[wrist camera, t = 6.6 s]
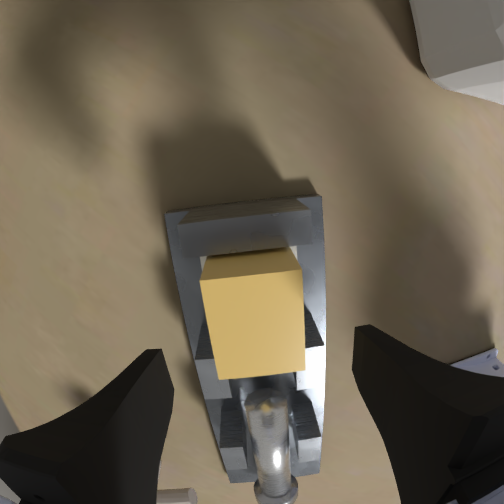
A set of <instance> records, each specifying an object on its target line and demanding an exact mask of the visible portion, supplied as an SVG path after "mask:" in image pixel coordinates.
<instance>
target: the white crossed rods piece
mask: <svg viewBox="0 0 504 504" xmlns="http://www.w3.org/2000/svg"><path fill="white" fill-rule="evenodd" d="M161 463H162V462H161V460H160V465H159V473H160V468H161ZM158 478H159V474H158ZM197 502H198V500H197V494H196V492H195V490H194V489H193V488H184V489H168V490H157V500H156V504H197Z"/></svg>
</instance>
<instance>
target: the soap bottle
mask: <svg viewBox="0 0 504 504" xmlns="http://www.w3.org/2000/svg"><path fill="white" fill-rule="evenodd" d="M409 2H410V6H411V10H412V15H413V20H414V24H415V30H416V35H417V40H418V46H419V52H420V59H421V63H422V65H423V66H424V68H425V70H426V72H427V74H428V77H429V78H430V79H431V80H432V81H434V82H435V83H436V84H438V85H439V86H440V87H442V88H443V89H446V90H451V91H455V92H459V93H463V94H467V95H471V96H475V97H479V98H482V99H486V100H489V101H493V102H496V103H499V104H502V105H504V0H409Z"/></svg>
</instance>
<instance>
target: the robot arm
mask: <svg viewBox="0 0 504 504" xmlns="http://www.w3.org/2000/svg"><path fill="white" fill-rule="evenodd" d="M497 353H498V350H497V349H496V348H494V349H491V350H489V351H486V352H484V353H481V354H478V355H476V356H473V357H470V358H468V359H465V360H462V361H459V362H457V363H454V364H451V365H448V364H445V363H443V362H440V361H437V360H435V359H433V358H430V357H428V356H426V355H424V354H422V353H420V352H418V351H416V350H414V349H412V348H410V347H408V346H407V345H405V344H403V343H401V342H400V341H398V340H396V339H394V338H393V337H391V336H389V335H388V334H386V333H384V332H383V331H381V330H379V329H378V328H376V327H374V326H372V325H370V324H369V325H363V326H358V327H355V333H354V349H353V362H352V371H353V374H354V378H355V381H356V384H357V386H358V389H359V392H360V394H361V396H362V398H363V400H364V402H365V404H366V406H367V408H368V410H369V412H370V414H371V416H372V418H373V420H374V422H375V424H376V426H377V428H378V430H379V432H380V434H381V436H382V439H383V441H384V444H385V447H386V450H387V453H388V456H389V459H390V462H391V465H392V469H393V472H394V476H395V479H396V483H397V487H398V491H399V495H400V500H401V504H504V364H503V363H502V362H501V361H499V360H498V359H497V358H496V356H497ZM173 398H174V387H173V384H172V381H171V378H170V375H169V371H168V368H167V365H166V362H165V358H164V355H163V352H162V349H147V350H145V351H144V352H143V353H142V354H141V355H140V356H138V357H137V358H136V359H135V360H134V361H133V362H132V363H131V364H130V365H129V366H128V367H127V368H126V369H125V370H124V371H122V372H121V373H120V374H119V375H118V376H117V377H116V378H115V379H114V380H112V381H111V382H110V383H109V384H108V385H106V386H105V387H104V388H103V389H102V390H100V391H99V392H98V393H97V394H95V395H94V396H93V397H91V398H90V399H89V400H87V401H86V402H84V403H83V404H81V405H80V406H78V407H76V408H75V409H73V410H71V411H69V412H68V413H66V414H64V415H62V416H60V417H58V418H56V419H54V420H52V421H50V422H48V423H45V424H43V425H41V426H38V427H35V428H33V429H30V430H27V431H23V432H20V433H16V434H12V435H8V436H6V437H5V438H4V439H3V441H2V443H1V444H0V478H1V479H2V480H3V481H4V482H5V483H6V484H7V486H8V487H9V488H10V489H11V490H12V491H13V492H15V494H16V495H18V496H19V497H20V498H21V501H20V503H19V504H156V500H157V484H158V474H159V465H160V459H161V454H162V450H163V446H164V442H165V438H166V434H167V430H168V426H169V422H170V418H171V414H172V407H173ZM0 504H16V503H15V502H13V501H12V500H10V499H8V498H5V497H3V496H1V495H0Z"/></svg>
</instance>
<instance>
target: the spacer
mask: <svg viewBox="0 0 504 504" xmlns="http://www.w3.org/2000/svg"><path fill="white" fill-rule="evenodd" d="M200 286H201V292H202V297H203V303H204V308H205V314H206V319H207V324H208V329H209V335H210V340H211V345H212V350H213V354H214V359H215V364H216V369H217V373H218V378H219V380H224V379H236V378H247V377H257V376H266V375H274V374H282V373H290V372H297V371H304V370H306V365H305V325H304V299H303V277H302V268H301V266H300V265H299V263H298V261H297V259H296V257H295V255H294V254H293V252H292V250H291V248H290V247H281V248H272V249H263V250H254V251H245V252H237V253H228V254H219V255H210V256H207V257H206V261H205V264H204V267H203V271H202V274H201V278H200Z"/></svg>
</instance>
